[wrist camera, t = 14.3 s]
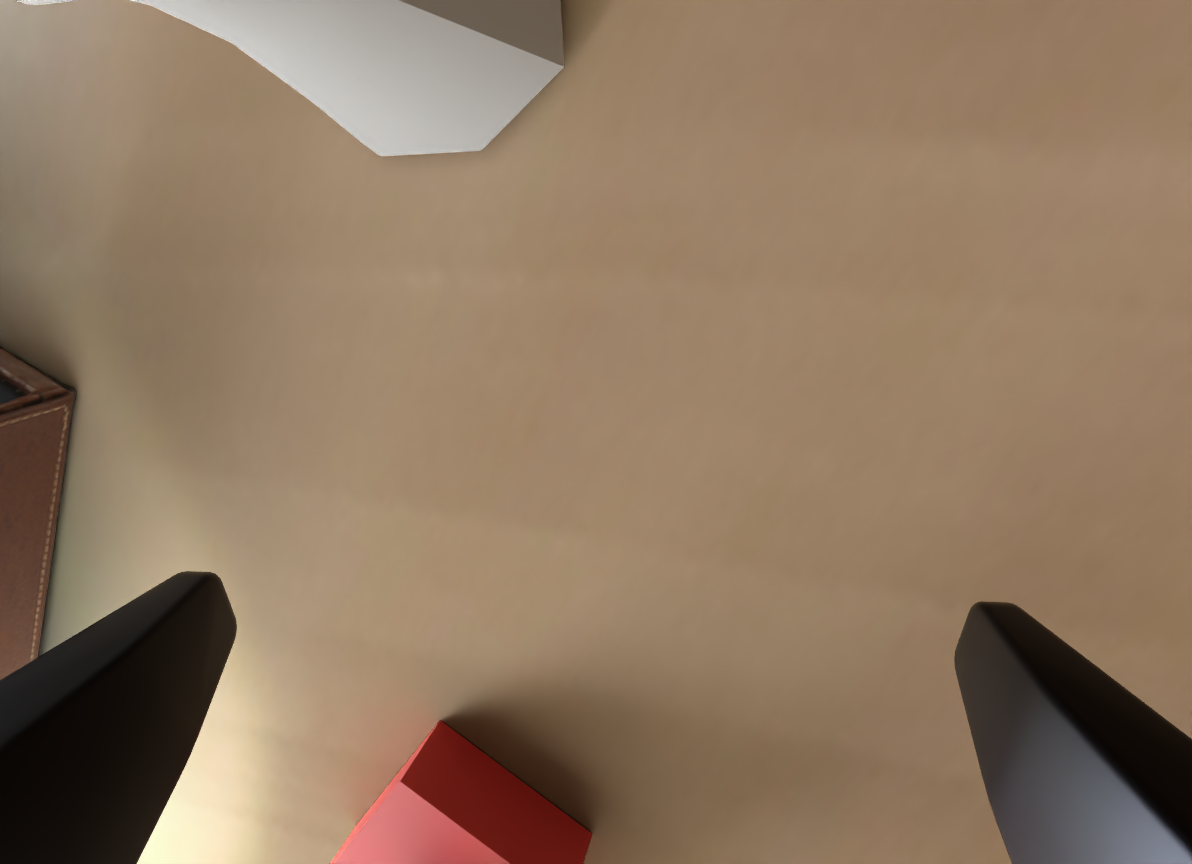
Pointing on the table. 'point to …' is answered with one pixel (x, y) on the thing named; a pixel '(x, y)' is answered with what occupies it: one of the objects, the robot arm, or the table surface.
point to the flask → (396, 61)
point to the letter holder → (28, 500)
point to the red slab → (461, 814)
